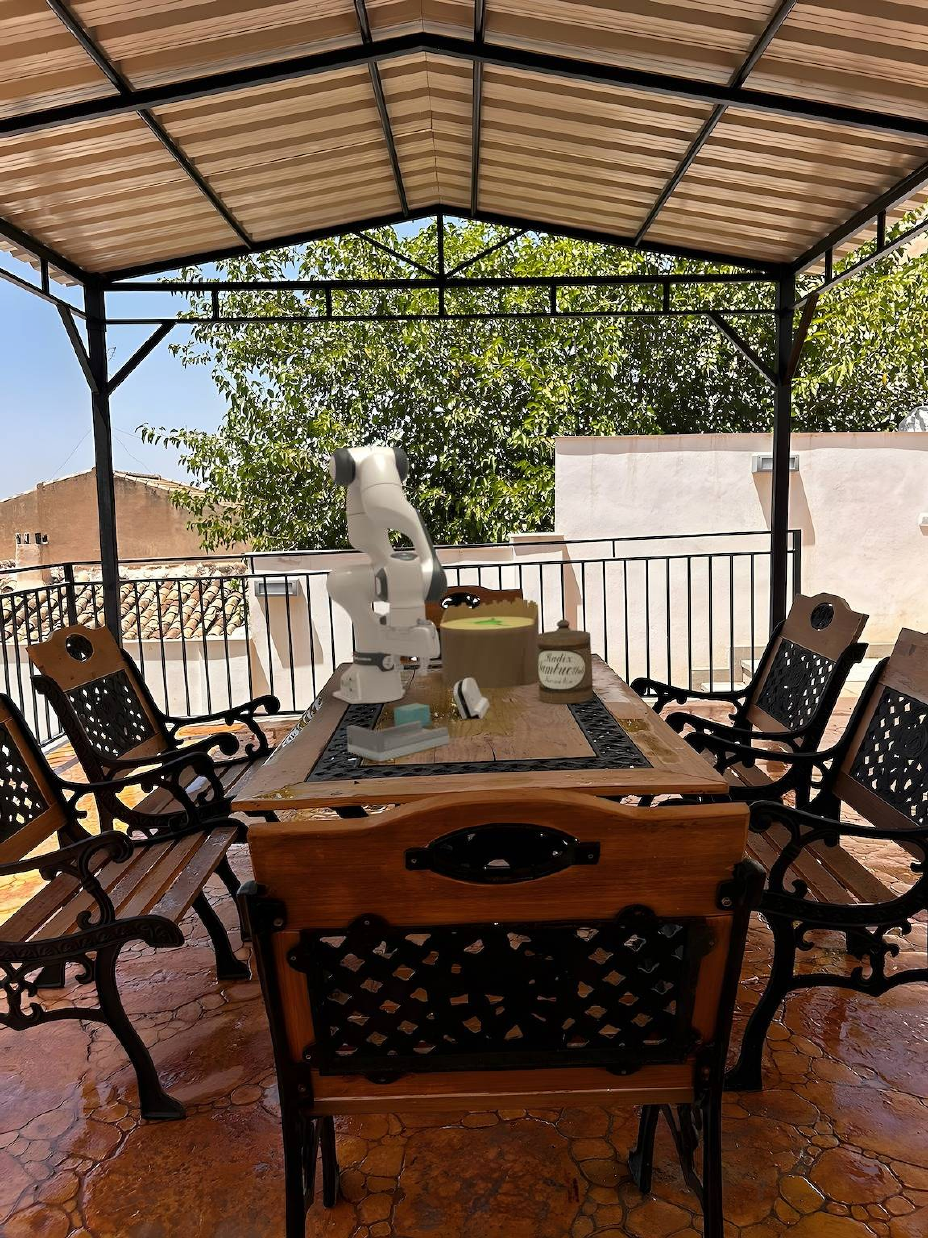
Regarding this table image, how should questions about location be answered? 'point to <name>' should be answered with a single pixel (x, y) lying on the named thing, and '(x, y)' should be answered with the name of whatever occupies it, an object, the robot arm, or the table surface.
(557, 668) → the wooden container
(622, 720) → the table surface
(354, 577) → the robot arm
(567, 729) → the table surface
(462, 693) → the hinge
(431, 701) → the table surface
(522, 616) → the brown wide cylinder
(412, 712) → the block
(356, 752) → the guide channel
